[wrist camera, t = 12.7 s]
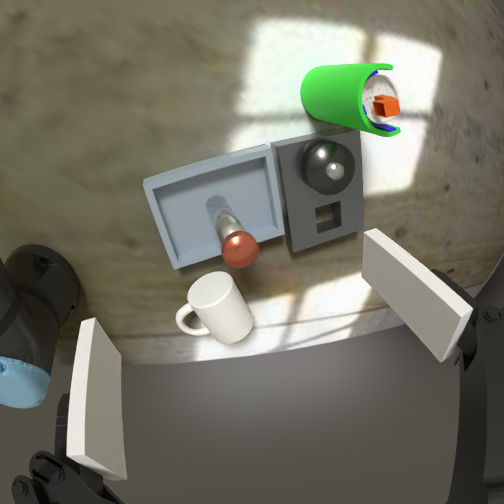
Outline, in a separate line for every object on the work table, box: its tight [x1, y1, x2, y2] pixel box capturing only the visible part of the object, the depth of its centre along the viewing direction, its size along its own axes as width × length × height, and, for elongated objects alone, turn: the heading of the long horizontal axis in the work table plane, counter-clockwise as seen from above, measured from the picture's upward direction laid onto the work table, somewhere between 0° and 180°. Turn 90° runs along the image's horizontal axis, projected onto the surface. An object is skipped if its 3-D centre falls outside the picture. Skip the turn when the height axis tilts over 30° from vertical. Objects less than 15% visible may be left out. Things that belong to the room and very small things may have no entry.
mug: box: [176, 271, 254, 344], centre depth 50 cm, size 12×10×8 cm
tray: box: [143, 144, 285, 270], centre depth 43 cm, size 18×14×3 cm
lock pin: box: [206, 195, 259, 268], centre depth 38 cm, size 4×4×14 cm
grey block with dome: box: [271, 128, 363, 253], centre depth 45 cm, size 14×18×7 cm
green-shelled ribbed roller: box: [301, 63, 401, 137], centre depth 33 cm, size 9×8×18 cm
